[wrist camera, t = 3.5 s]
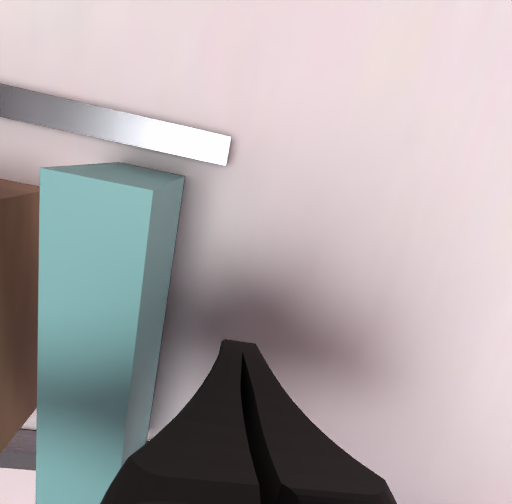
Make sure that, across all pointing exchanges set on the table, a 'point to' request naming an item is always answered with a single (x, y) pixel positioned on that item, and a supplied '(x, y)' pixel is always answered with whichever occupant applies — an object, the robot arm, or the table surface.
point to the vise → (113, 129)
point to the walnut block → (18, 305)
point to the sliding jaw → (99, 320)
